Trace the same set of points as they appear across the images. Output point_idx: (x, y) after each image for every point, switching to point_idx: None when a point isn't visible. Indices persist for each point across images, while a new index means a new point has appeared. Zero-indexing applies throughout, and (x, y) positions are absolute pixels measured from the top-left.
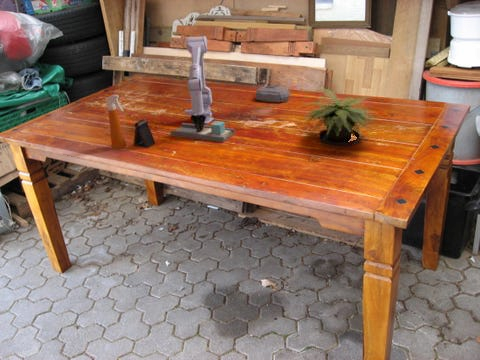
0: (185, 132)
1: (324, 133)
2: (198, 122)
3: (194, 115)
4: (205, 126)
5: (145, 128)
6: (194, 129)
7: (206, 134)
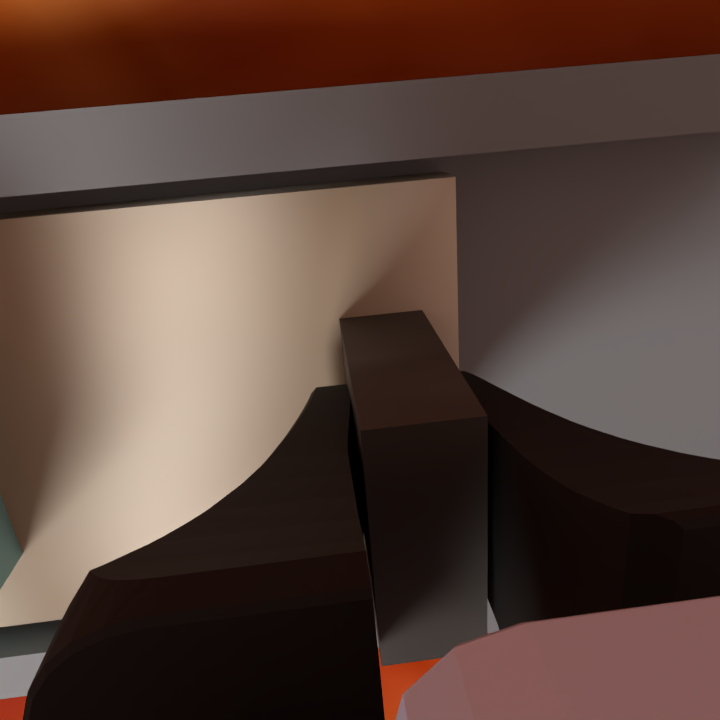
0: (678, 93)
1: None
2: (448, 533)
3: (608, 611)
4: None
5: None
6: None
7: (50, 258)
